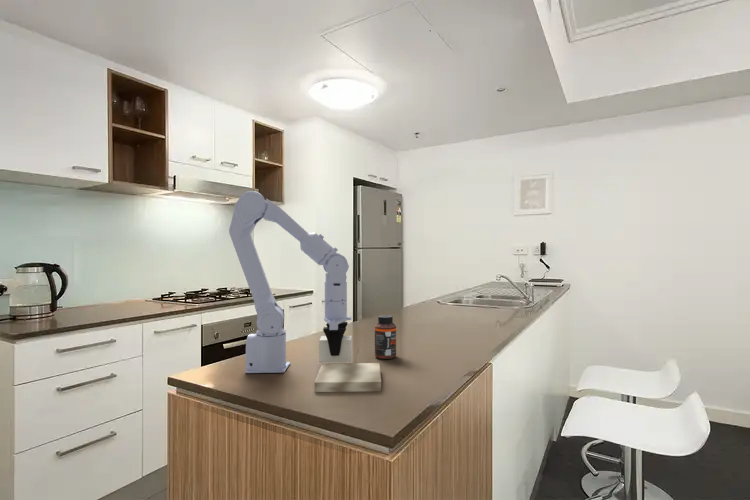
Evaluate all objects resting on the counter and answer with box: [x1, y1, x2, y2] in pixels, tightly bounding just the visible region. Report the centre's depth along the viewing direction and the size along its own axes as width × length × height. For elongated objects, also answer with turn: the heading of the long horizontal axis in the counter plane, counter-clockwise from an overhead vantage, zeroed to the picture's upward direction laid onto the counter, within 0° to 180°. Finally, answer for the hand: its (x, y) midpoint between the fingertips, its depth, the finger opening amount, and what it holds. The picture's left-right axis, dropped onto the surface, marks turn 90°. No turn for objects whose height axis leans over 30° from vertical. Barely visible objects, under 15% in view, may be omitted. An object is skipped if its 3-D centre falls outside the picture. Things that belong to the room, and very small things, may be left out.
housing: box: [318, 335, 353, 363], centre depth 106 cm, size 8×5×6 cm, turn 91°
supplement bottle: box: [374, 314, 397, 360], centre depth 113 cm, size 6×6×11 cm
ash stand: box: [313, 362, 382, 393], centre depth 93 cm, size 14×14×2 cm
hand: (335, 352), depth 106 cm, fingers closed on housing, 5 cm apart
